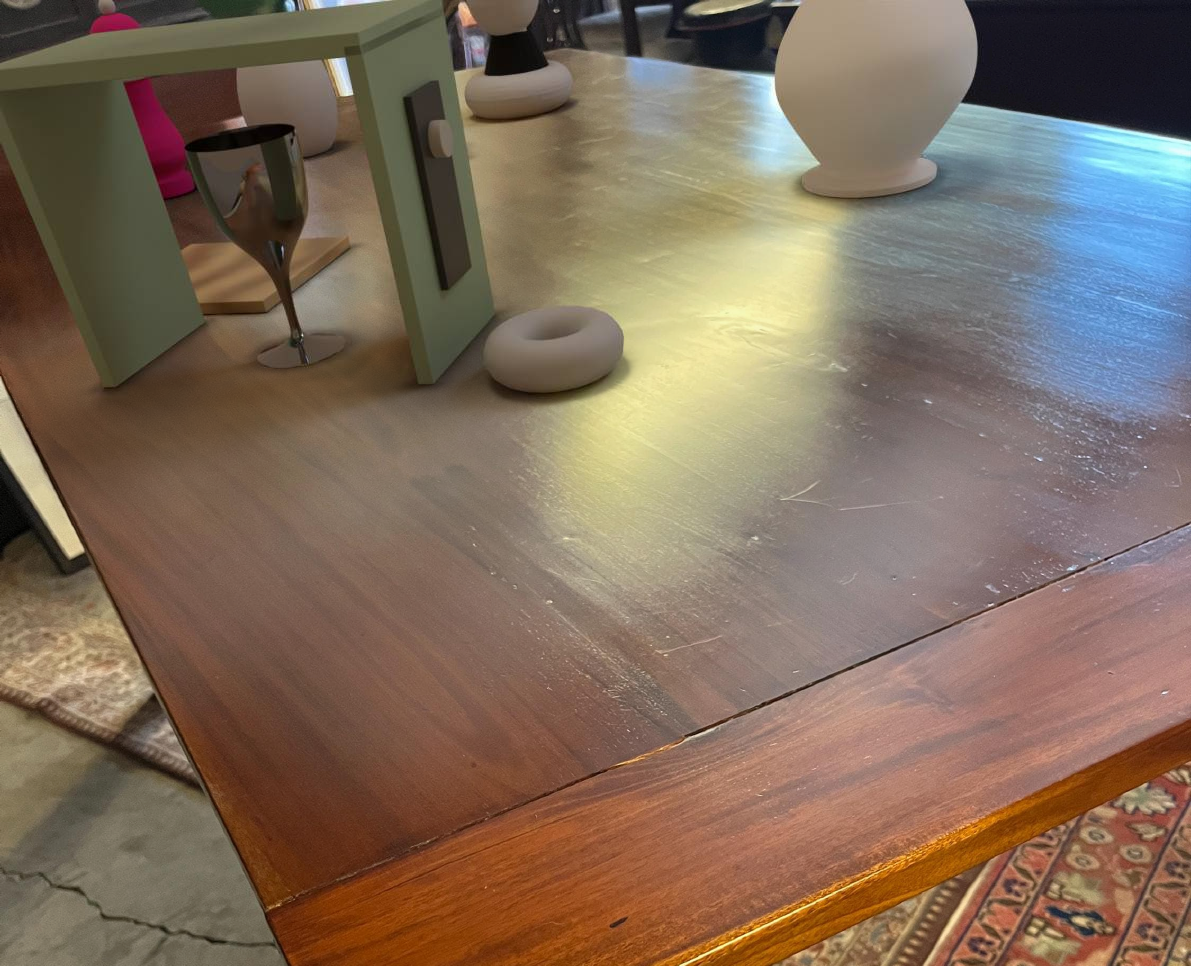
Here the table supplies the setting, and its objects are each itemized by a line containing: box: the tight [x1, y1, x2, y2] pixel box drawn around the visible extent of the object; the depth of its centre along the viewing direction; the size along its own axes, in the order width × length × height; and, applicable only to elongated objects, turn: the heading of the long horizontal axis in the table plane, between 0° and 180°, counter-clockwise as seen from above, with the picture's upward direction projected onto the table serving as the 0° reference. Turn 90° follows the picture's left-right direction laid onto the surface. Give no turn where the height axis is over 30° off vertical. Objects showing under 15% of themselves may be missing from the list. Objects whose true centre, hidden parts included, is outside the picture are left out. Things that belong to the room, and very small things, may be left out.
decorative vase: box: [774, 0, 978, 199], centre depth 97 cm, size 18×18×25 cm
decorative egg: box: [236, 60, 339, 159], centre depth 141 cm, size 12×12×15 cm
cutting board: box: [180, 236, 351, 315], centre depth 104 cm, size 18×18×1 cm
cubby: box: [0, 0, 496, 388], centre depth 80 cm, size 30×14×21 cm, turn 75°
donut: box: [482, 305, 625, 394], centre depth 77 cm, size 10×3×10 cm
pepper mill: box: [89, 0, 195, 200], centre depth 130 cm, size 7×7×20 cm
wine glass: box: [184, 124, 347, 369], centre depth 83 cm, size 8×8×15 cm
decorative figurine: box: [464, 0, 574, 120], centre depth 143 cm, size 15×15×20 cm
